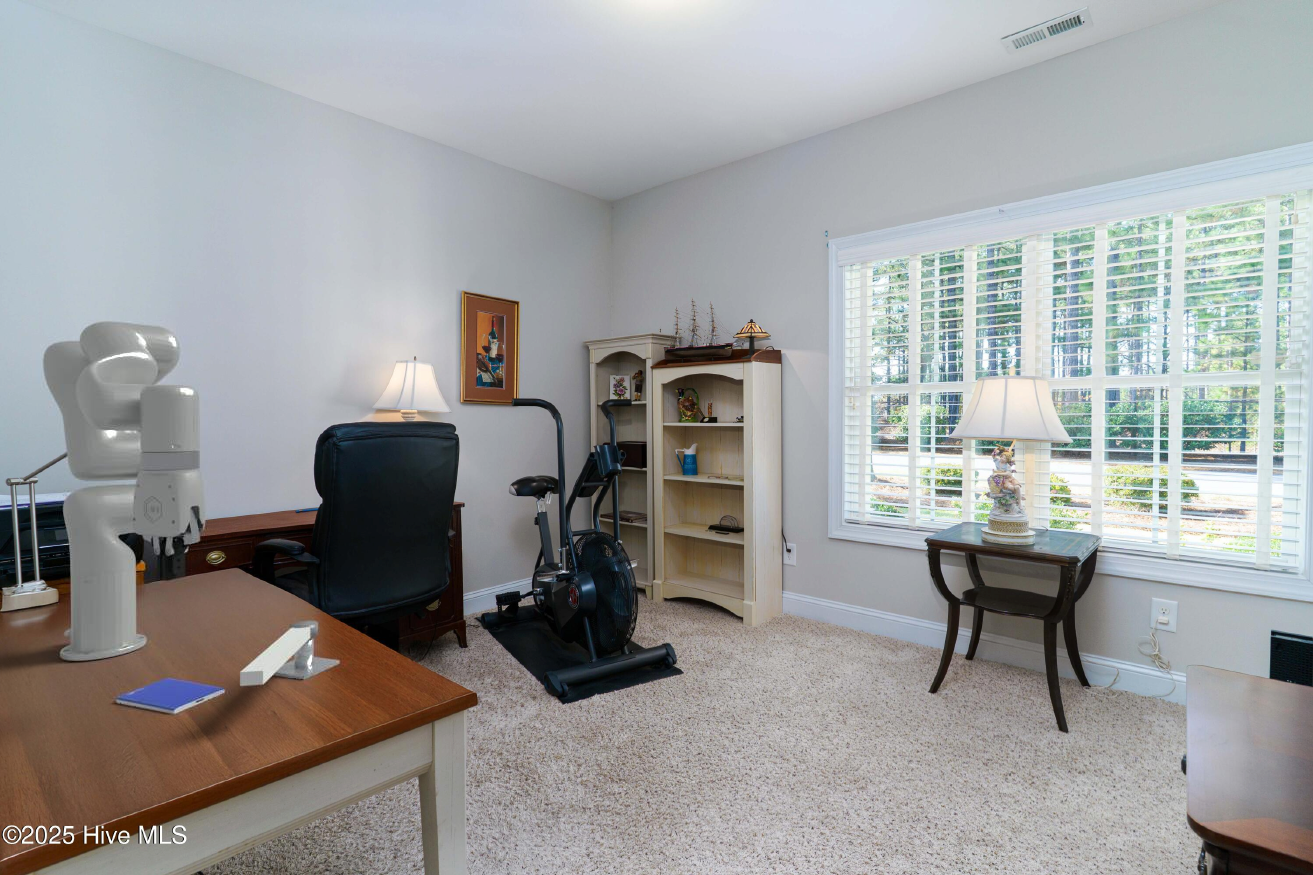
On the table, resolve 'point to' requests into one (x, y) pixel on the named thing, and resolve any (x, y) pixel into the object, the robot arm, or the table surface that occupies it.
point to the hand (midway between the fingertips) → (171, 578)
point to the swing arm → (278, 653)
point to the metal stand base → (305, 663)
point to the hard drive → (170, 695)
